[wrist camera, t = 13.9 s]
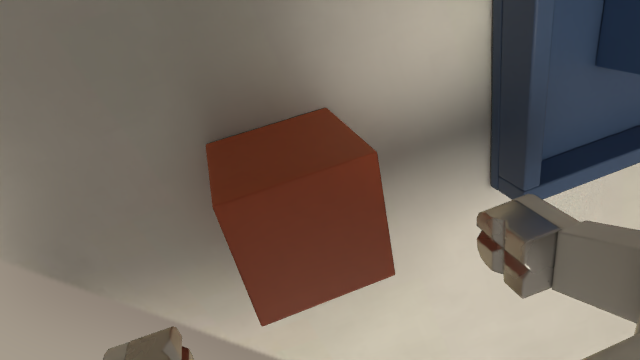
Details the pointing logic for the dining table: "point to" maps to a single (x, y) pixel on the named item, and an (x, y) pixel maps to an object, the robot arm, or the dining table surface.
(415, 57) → the dining table surface
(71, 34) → the dining table surface
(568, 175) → the blue tray
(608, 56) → the blue block
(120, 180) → the dining table surface
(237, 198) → the rust block
